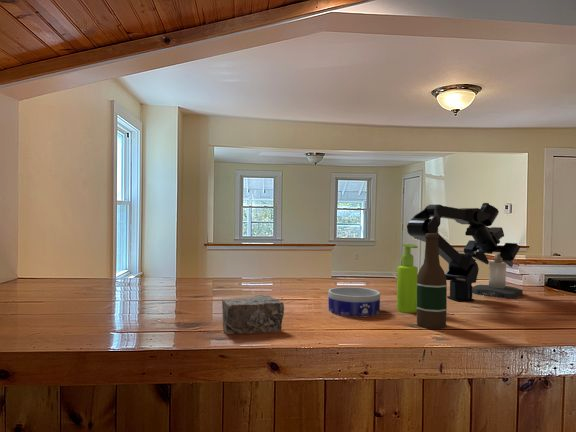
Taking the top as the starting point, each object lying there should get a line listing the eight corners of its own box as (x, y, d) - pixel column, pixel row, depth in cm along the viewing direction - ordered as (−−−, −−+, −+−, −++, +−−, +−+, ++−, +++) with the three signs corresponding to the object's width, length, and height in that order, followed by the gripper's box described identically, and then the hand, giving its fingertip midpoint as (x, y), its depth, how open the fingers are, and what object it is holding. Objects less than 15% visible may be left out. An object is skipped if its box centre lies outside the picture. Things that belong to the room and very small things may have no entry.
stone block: (270, 322, 109) (271, 293, 109) (284, 331, 101) (284, 300, 101) (218, 327, 103) (219, 297, 103) (228, 337, 95) (228, 304, 95)
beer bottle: (422, 320, 112) (423, 232, 112) (451, 325, 107) (452, 233, 107) (410, 325, 106) (411, 233, 106) (441, 331, 101) (441, 234, 101)
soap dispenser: (405, 314, 118) (406, 245, 118) (393, 308, 125) (393, 243, 125) (423, 313, 120) (423, 244, 120) (410, 307, 127) (410, 243, 126)
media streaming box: (525, 295, 150) (525, 287, 150) (511, 301, 140) (511, 292, 140) (484, 289, 161) (484, 282, 161) (468, 294, 151) (468, 286, 151)
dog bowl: (364, 304, 132) (364, 285, 132) (390, 315, 117) (390, 294, 117) (320, 307, 127) (320, 287, 127) (341, 319, 112) (341, 297, 112)
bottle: (503, 289, 146) (504, 255, 146) (486, 286, 150) (488, 253, 149) (506, 286, 150) (508, 253, 150) (491, 284, 154) (492, 252, 153)
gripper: (517, 220, 140) (534, 251, 146) (468, 219, 156) (485, 247, 162) (503, 243, 136) (521, 274, 142) (455, 240, 152) (473, 268, 158)
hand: (499, 264), depth 151 cm, fingers open, 9 cm apart
